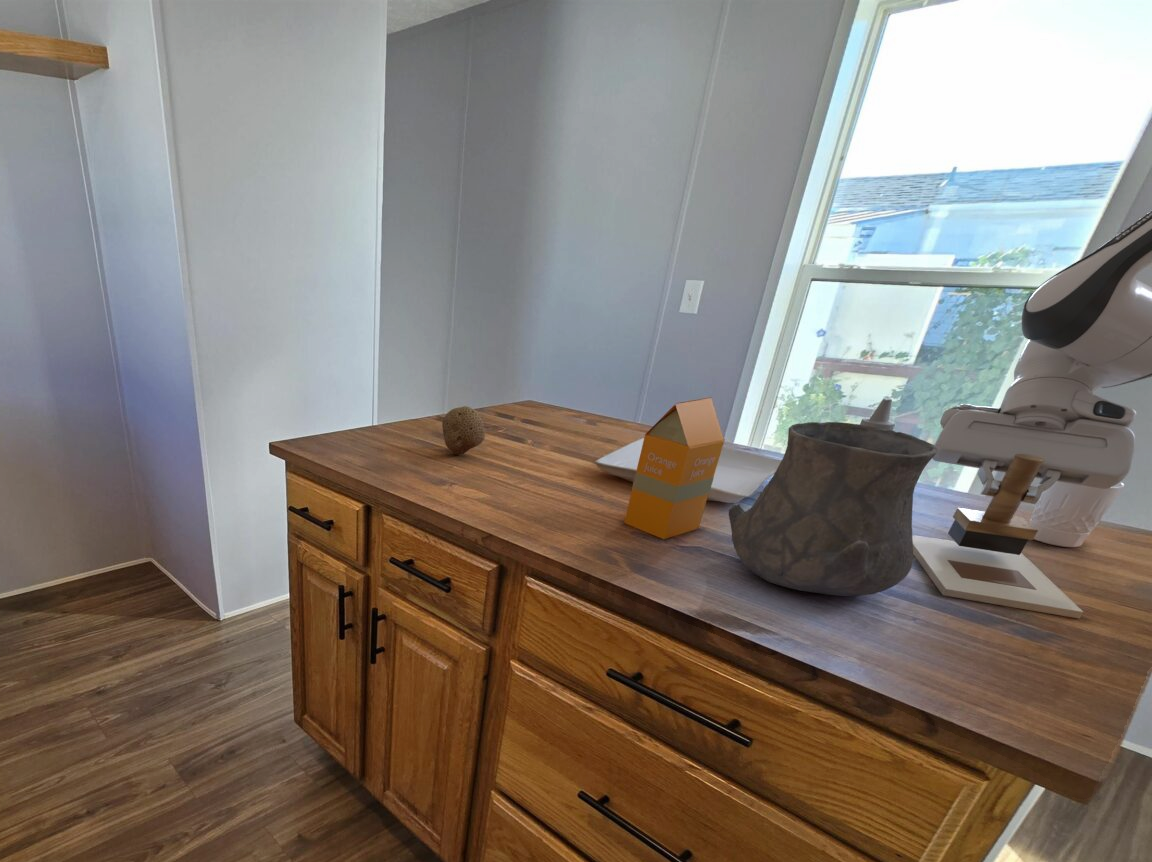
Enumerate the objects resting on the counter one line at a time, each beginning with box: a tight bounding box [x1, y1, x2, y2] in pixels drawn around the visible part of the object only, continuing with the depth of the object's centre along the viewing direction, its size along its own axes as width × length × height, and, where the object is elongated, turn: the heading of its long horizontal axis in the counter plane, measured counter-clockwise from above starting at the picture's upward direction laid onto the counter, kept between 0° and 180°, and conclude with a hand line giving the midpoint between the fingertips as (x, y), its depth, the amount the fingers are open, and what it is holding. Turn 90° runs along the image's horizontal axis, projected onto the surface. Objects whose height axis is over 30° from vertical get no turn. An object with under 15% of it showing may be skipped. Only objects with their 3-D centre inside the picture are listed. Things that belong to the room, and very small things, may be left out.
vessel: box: [728, 421, 937, 597], centre depth 86 cm, size 22×22×20 cm
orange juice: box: [623, 396, 726, 540], centre depth 101 cm, size 8×9×20 cm
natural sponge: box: [441, 405, 487, 456], centre depth 136 cm, size 9×9×10 cm
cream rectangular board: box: [912, 534, 1084, 619], centre depth 92 cm, size 14×20×1 cm
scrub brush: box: [947, 454, 1044, 555], centre depth 92 cm, size 8×6×13 cm
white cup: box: [1028, 481, 1126, 548], centre depth 101 cm, size 8×8×10 cm
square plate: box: [593, 437, 782, 504], centre depth 126 cm, size 27×27×4 cm
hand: (1009, 497), depth 91 cm, fingers closed on scrub brush, 3 cm apart
